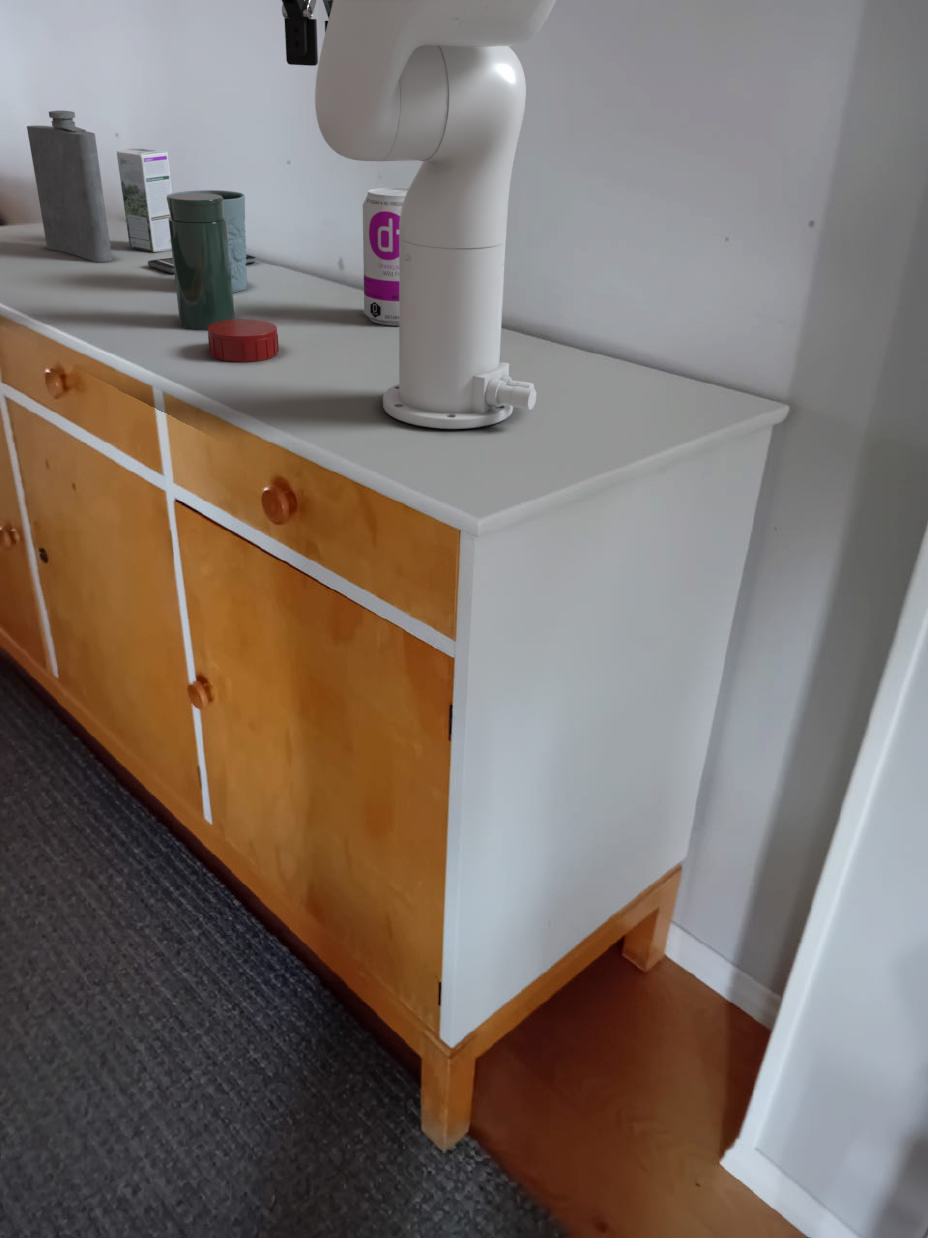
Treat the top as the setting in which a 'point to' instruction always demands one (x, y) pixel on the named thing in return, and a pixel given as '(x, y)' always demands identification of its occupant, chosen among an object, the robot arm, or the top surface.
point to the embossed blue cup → (232, 233)
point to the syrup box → (146, 197)
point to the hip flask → (70, 188)
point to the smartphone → (169, 267)
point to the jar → (201, 259)
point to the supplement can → (382, 254)
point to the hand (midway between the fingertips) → (322, 64)
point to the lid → (243, 340)
